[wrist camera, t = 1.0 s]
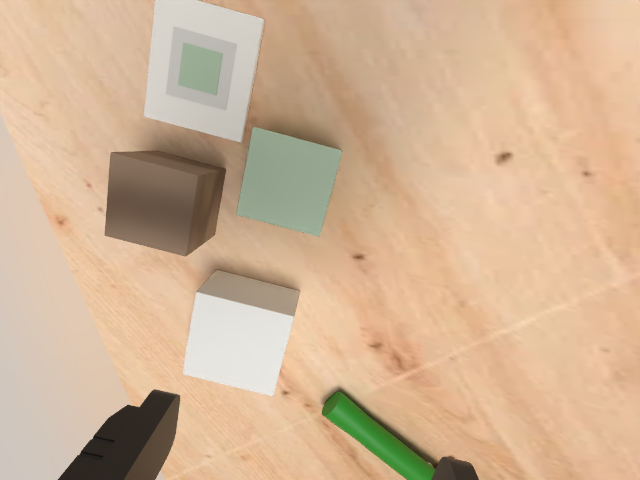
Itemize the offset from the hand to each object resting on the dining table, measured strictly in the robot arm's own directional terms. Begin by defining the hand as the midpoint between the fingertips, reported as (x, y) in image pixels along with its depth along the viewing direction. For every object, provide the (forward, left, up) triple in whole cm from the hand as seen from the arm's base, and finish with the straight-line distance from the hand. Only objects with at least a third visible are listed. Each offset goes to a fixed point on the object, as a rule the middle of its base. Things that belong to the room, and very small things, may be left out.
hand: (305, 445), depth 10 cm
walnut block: (-1, -13, -21) cm, 24 cm away
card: (-11, -13, -20) cm, 27 cm away
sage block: (-5, -4, -21) cm, 21 cm away
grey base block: (+9, -5, -21) cm, 23 cm away
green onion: (+22, +18, -21) cm, 35 cm away
